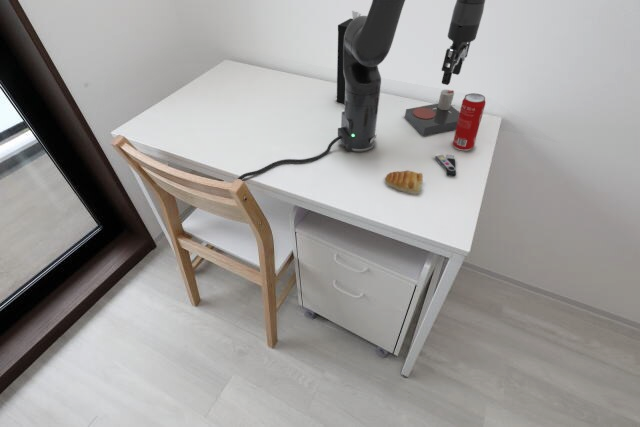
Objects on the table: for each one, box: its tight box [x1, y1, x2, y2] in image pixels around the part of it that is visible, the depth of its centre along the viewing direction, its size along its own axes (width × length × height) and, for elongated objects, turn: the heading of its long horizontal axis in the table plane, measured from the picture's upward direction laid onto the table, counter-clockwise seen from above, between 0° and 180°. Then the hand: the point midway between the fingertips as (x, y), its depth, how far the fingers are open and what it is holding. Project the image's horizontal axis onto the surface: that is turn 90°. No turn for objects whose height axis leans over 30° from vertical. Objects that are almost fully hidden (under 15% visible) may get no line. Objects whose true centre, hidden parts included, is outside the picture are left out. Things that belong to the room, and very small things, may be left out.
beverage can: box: [452, 93, 486, 151], centre depth 94 cm, size 6×6×15 cm
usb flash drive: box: [434, 154, 457, 177], centre depth 92 cm, size 9×5×1 cm, turn 166°
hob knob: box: [437, 89, 455, 110], centre depth 107 cm, size 4×4×5 cm
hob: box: [404, 100, 460, 137], centre depth 108 cm, size 16×13×3 cm
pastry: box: [384, 169, 424, 195], centre depth 86 cm, size 9×7×4 cm
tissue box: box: [336, 10, 362, 105], centre depth 110 cm, size 8×8×28 cm
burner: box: [413, 108, 435, 119], centre depth 107 cm, size 7×7×1 cm
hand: (450, 78), depth 103 cm, fingers open, 8 cm apart
